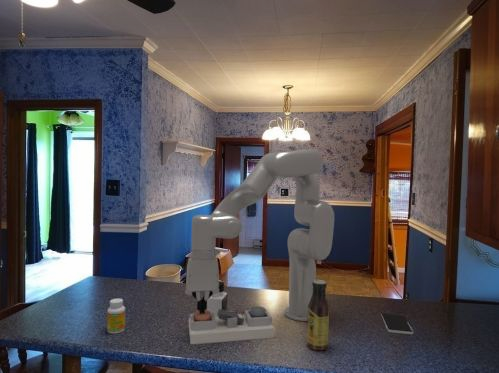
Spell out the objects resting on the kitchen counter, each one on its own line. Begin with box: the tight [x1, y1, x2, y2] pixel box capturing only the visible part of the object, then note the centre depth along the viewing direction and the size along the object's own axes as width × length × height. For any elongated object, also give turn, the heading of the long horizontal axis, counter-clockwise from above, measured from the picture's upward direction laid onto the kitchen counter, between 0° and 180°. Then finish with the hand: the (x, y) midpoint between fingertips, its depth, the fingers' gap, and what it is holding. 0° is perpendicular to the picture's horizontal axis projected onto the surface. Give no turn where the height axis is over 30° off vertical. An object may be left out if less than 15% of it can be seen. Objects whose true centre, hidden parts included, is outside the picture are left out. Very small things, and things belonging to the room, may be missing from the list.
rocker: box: [217, 309, 244, 324], centre depth 115 cm, size 8×4×2 cm, turn 102°
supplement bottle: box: [106, 298, 126, 335], centre depth 115 cm, size 5×5×10 cm
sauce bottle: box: [306, 279, 330, 351], centre depth 106 cm, size 7×6×20 cm
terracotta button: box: [194, 310, 211, 322], centre depth 113 cm, size 5×5×2 cm
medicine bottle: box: [207, 279, 228, 317], centre depth 130 cm, size 7×7×12 cm
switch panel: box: [188, 308, 276, 345], centre depth 115 cm, size 26×12×6 cm, turn 102°
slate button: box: [249, 305, 266, 318], centre depth 117 cm, size 5×5×2 cm
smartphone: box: [380, 312, 414, 335], centre depth 124 cm, size 8×1×15 cm
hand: (201, 311), depth 113 cm, fingers closed
